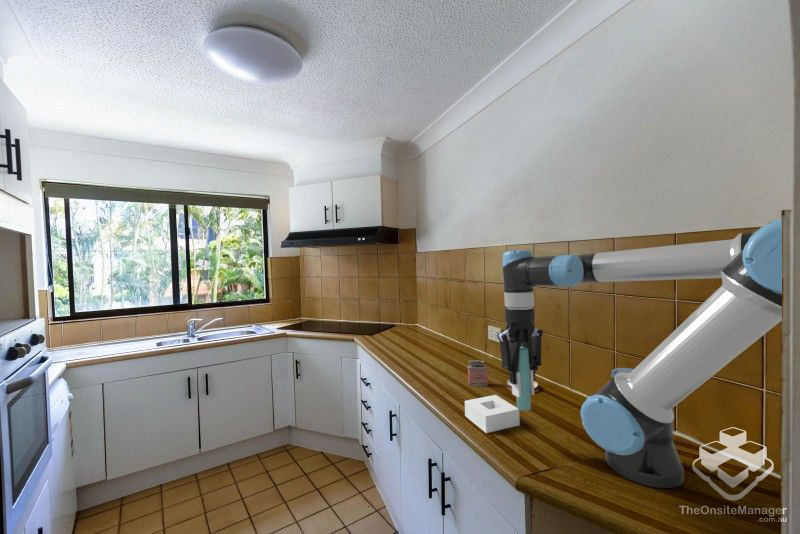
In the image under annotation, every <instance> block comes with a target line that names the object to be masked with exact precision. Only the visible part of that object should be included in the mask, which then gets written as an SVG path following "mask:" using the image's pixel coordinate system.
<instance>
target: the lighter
mask: <svg viewBox="0 0 800 534" xmlns="http://www.w3.org/2000/svg"><path fill="white" fill-rule="evenodd" d="M468 364H469V365H467V368H466V369H467V381H468V382H467V386H470V387H487V386H488V385H489V383H488V365H485V361H484V360H479V359H476V360H469V361H468Z"/></svg>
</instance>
